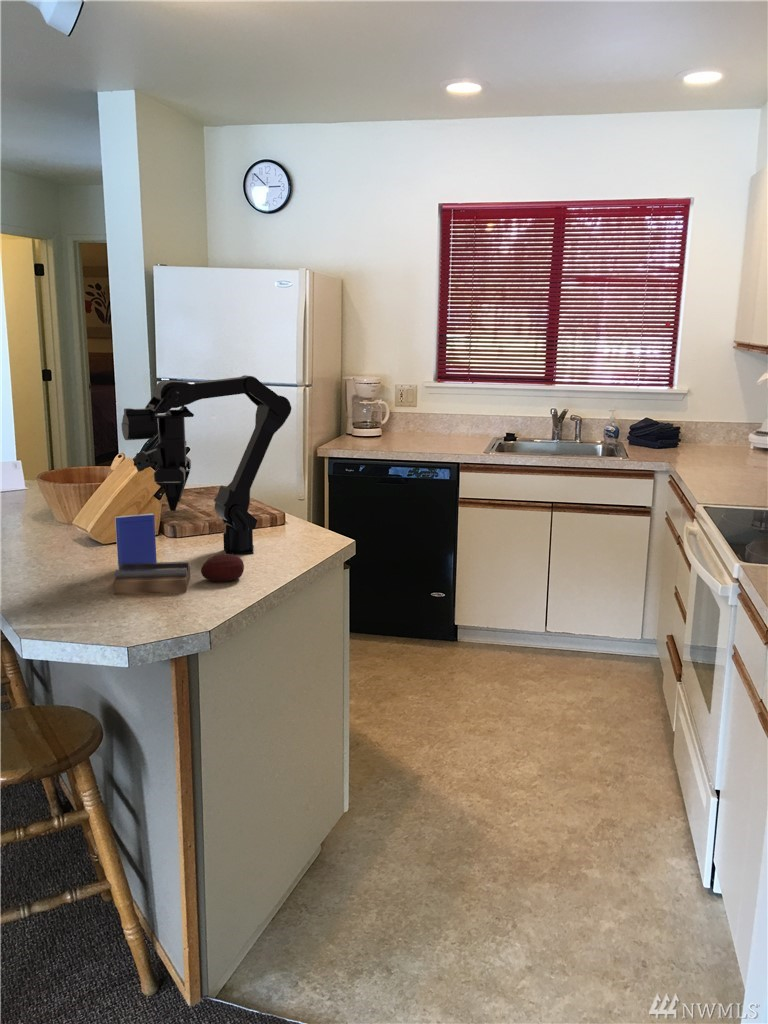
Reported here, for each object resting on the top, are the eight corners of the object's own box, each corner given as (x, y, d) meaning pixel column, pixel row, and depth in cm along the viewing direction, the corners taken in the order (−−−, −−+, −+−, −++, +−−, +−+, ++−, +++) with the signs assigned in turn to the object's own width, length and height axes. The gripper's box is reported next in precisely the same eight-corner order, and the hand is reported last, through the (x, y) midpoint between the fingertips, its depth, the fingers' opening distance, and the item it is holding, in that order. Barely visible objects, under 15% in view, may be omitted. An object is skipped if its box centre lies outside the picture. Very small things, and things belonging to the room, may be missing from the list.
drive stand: (190, 578, 171) (189, 558, 170) (186, 593, 161) (185, 572, 160) (122, 581, 168) (121, 560, 167) (114, 596, 159) (112, 574, 158)
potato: (245, 585, 167) (244, 558, 165) (201, 588, 165) (200, 560, 164) (243, 575, 174) (243, 548, 173) (201, 577, 172) (200, 550, 171)
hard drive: (157, 568, 178) (154, 514, 175) (119, 573, 174) (115, 518, 171) (155, 566, 179) (153, 513, 176) (118, 571, 175) (114, 516, 173)
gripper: (140, 432, 185) (144, 498, 188) (127, 443, 167) (131, 516, 170) (189, 432, 187) (192, 497, 190) (182, 443, 169) (185, 515, 172)
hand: (175, 506), depth 181 cm, fingers open, 9 cm apart
